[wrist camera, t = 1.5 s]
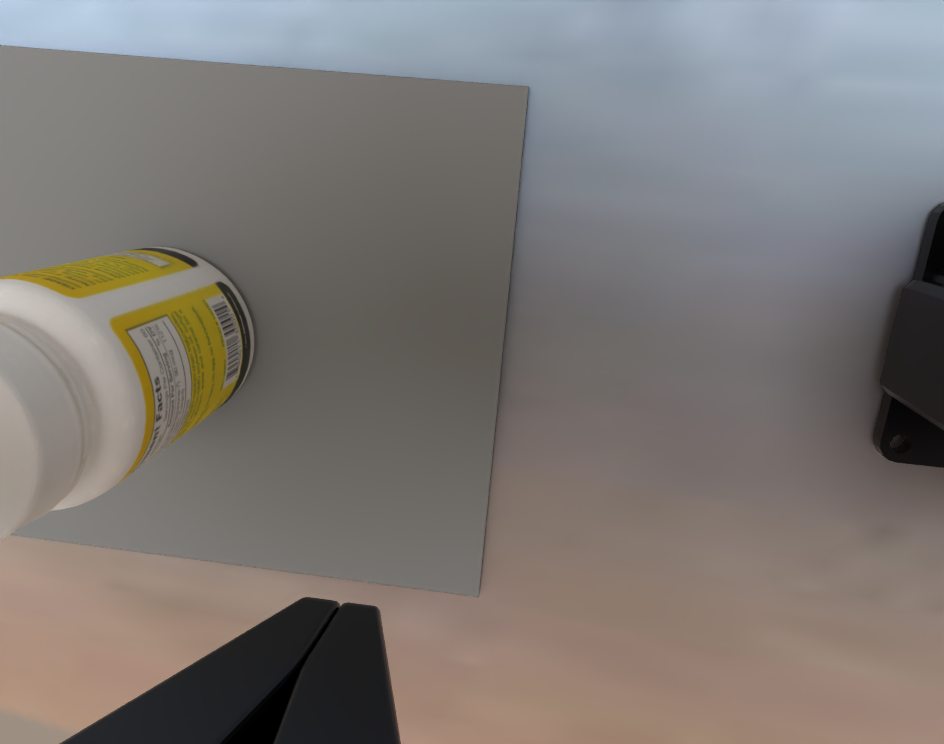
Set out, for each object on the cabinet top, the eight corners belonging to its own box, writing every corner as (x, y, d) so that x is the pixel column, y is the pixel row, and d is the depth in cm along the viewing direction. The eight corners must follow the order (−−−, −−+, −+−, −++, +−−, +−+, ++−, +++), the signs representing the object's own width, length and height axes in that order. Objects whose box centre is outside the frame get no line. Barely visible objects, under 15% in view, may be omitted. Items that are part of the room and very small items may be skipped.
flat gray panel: (528, 87, 17) (528, 86, 17) (479, 593, 21) (478, 597, 21) (-231, 28, 19) (-239, 26, 19) (-148, 510, 23) (-155, 513, 23)
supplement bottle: (61, 332, 20) (-263, 440, 12) (156, 207, 19) (-135, 234, 11) (193, 446, 21) (-33, 623, 13) (294, 332, 19) (114, 446, 11)
